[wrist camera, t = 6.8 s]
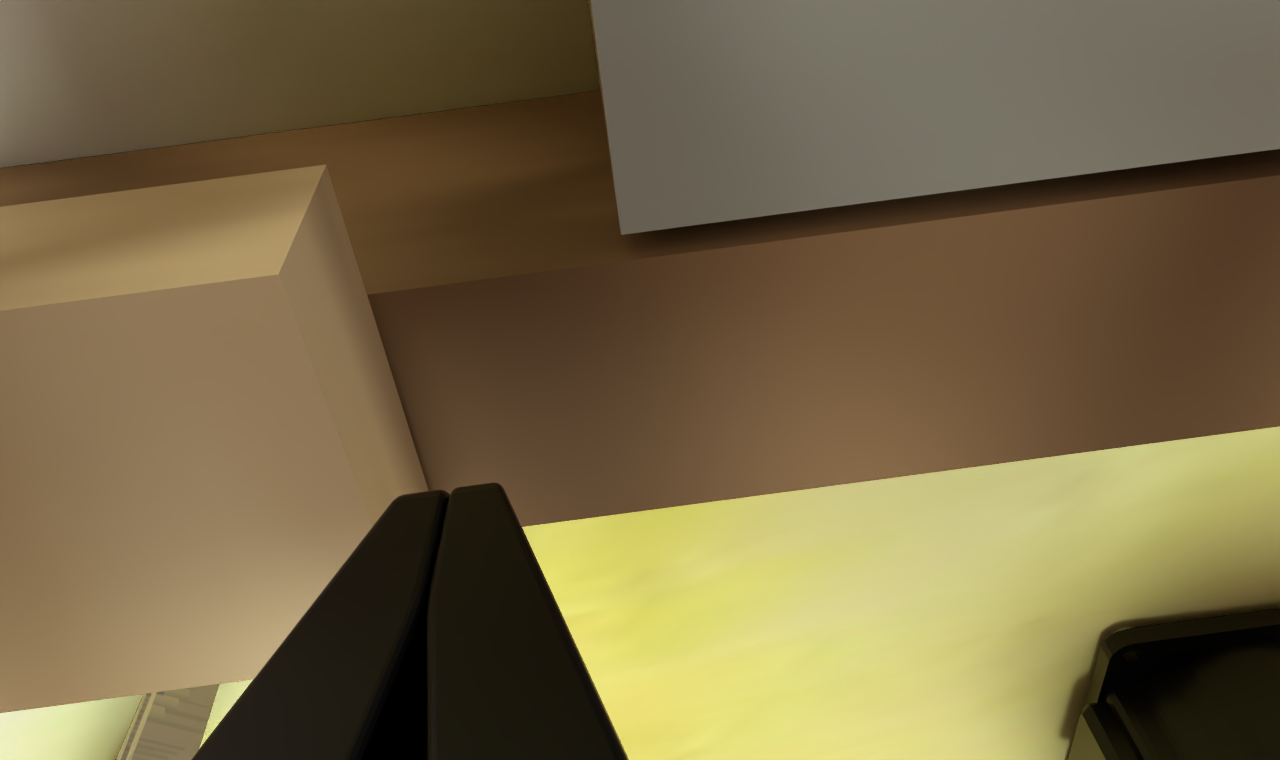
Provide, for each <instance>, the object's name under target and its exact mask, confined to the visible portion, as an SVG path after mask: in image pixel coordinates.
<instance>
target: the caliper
mask: <svg viewBox="0 0 1280 760" xmlns="http://www.w3.org/2000/svg"><path fill="white" fill-rule="evenodd" d="M218 687H219V684H213V685H206V686H199V687H191V688H184V689H176V690H169V691H161V692H154V693H146V694H143V697H142V699H141V702H140V704H139V706H138V709H137V711H136V714H135V716H134V718H133V721H132V723H131V726H130V728H129V730H128V733H127V735H126V737H125V740H124V742H123V745H122V747H121V749H120V752H119V754H118V757H117V759H116V760H191V759H192V758H193V757H194V755H195V754H196V753H197V752H198V750H199V747H200V744H201V741H202V738H203V735H204V732H205V728H206V725H207V722H208V719H209V716H210V712H211V709H212V706H213V703H214V699H215V696H216V693H217V690H218Z"/></svg>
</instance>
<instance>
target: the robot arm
mask: <svg viewBox="0 0 1280 760" xmlns="http://www.w3.org/2000/svg"><path fill="white" fill-rule="evenodd" d="M191 760H629V759H628V757H627V754H626V752H625V750H624V748H623V746H622V744H621V741H620V739H619V737H618V735H617V733H616V731H615V728H614V726H613V724H612V722H611V720H610V718H609V715H608V713H607V711H606V709H605V707H604V705H603V702H602V700H601V698H600V696H599V694H598V692H597V689H596V687H595V685H594V683H593V681H592V679H591V676H590V674H589V672H588V670H587V668H586V666H585V663H584V661H583V659H582V657H581V655H580V652H579V650H578V648H577V646H576V644H575V642H574V639H573V637H572V635H571V633H570V631H569V629H568V626H567V624H566V622H565V620H564V618H563V616H562V613H561V611H560V609H559V607H558V605H557V603H556V600H555V598H554V596H553V594H552V592H551V590H550V587H549V585H548V583H547V581H546V579H545V577H544V574H543V572H542V570H541V568H540V566H539V564H538V561H537V559H536V557H535V555H534V553H533V551H532V548H531V546H530V544H529V542H528V540H527V538H526V535H525V533H524V531H523V529H522V527H521V524H520V522H519V520H518V518H517V516H516V514H515V511H514V509H513V507H512V505H511V503H510V501H509V498H508V496H507V494H506V492H505V490H504V488H503V487H502V486H501V485H500V484H499V483H486V484H478V485H471V486H463V487H458V488H455V489H454V490H453V491H452V492H451V493H450V494H449V493H448V492H446V491H444V490H433V491H426V492H418V493H411V494H404V495H401V496H398V497H397V498H396V499H394V500H393V501H392V502H391V503H390V505H389V506H388V507H387V509H386V510H385V511H384V512H383V514H382V515H381V516H380V518H379V519H378V520H377V521H376V523H375V524H374V525H373V527H372V528H371V529H370V530H369V532H368V533H367V534H366V536H365V537H364V538H363V539H362V541H361V542H360V543H359V545H358V546H357V547H356V548H355V550H354V551H353V552H352V554H351V555H350V556H349V557H348V559H347V560H346V561H345V563H344V564H343V565H342V566H341V568H340V569H339V570H338V572H337V573H336V574H335V575H334V577H333V578H332V579H331V581H330V582H329V583H328V584H327V586H326V587H325V588H324V590H323V591H322V592H321V593H320V595H319V596H318V597H317V599H316V600H315V601H314V602H313V604H312V605H311V606H310V608H309V609H308V610H307V611H306V613H305V614H304V615H303V617H302V618H301V619H300V620H299V622H298V623H297V624H296V626H295V627H294V628H293V629H292V631H291V632H290V633H289V635H288V636H287V637H286V638H285V640H284V641H283V642H282V644H281V645H280V646H279V647H278V649H277V650H276V651H275V653H274V654H273V655H272V656H271V658H270V659H269V660H268V662H267V663H266V664H265V665H264V667H263V668H262V669H261V671H260V672H259V673H258V674H257V676H256V677H255V678H254V680H253V681H252V682H251V683H250V685H249V686H248V687H247V689H246V690H245V691H244V692H243V694H242V695H241V696H240V698H239V699H238V700H237V701H236V703H235V704H234V705H233V707H232V708H231V709H230V710H229V712H228V713H227V714H226V716H225V717H224V718H223V719H222V721H221V722H220V723H219V725H218V726H217V727H216V728H215V730H214V731H213V732H212V734H211V735H210V736H209V737H208V739H207V740H206V741H205V743H204V744H203V745H202V746H201V748H200V749H199V750H198V752H197V753H196V754H195V755H194V757H193V758H192V759H191ZM1068 760H1280V609H1275V610H1267V611H1260V612H1252V613H1245V614H1237V615H1230V616H1222V617H1215V618H1207V619H1200V620H1193V621H1185V622H1178V623H1170V624H1163V625H1155V626H1148V627H1140V628H1133V629H1126V630H1122V631H1118V632H1116V633H1114V634H1112V635H1110V636H1109V637H1108V638H1107V639H1106V640H1104V642H1103V644H1102V645H1101V648H1100V652H1099V655H1098V659H1097V662H1096V666H1095V669H1094V673H1093V676H1092V680H1091V684H1090V687H1089V691H1088V694H1087V698H1086V701H1085V705H1084V708H1083V711H1082V712H1081V714H1080V718H1079V721H1078V725H1077V728H1076V732H1075V735H1074V739H1073V743H1072V746H1071V750H1070V753H1069V757H1068Z"/></svg>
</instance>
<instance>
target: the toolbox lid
mask: <svg viewBox="0 0 1280 760" xmlns="http://www.w3.org/2000/svg"><path fill="white" fill-rule="evenodd" d="M591 7H592V15H593V23H594V31H595V39H596V47H597V55H598V62H599V70H600V78H601V86H602V94H603V102H604V110H605V117H606V125H607V133H608V141H609V149H610V157H611V165H612V172H613V180H614V188H615V195H616V202H617V209H618V216H619V223H620V230H621V235H624V234H631V233H639V232H647V231H654V230H662V229H670V228H677V227H685V226H693V225H700V224H708V223H715V222H723V221H731V220H738V219H746V218H754V217H761V216H769V215H777V214H784V213H792V212H800V211H807V210H815V209H823V208H830V207H838V206H846V205H853V204H861V203H869V202H876V201H884V200H891V199H899V198H907V197H914V196H922V195H930V194H937V193H945V192H953V191H960V190H968V189H976V188H983V187H991V186H999V185H1006V184H1014V183H1022V182H1029V181H1037V180H1045V179H1052V178H1060V177H1068V176H1075V175H1083V174H1090V173H1098V172H1106V171H1113V170H1121V169H1129V168H1136V167H1144V166H1152V165H1159V164H1167V163H1175V162H1182V161H1190V160H1198V159H1205V158H1213V157H1221V156H1228V155H1236V154H1244V153H1251V152H1259V151H1266V150H1274V149H1280V0H591Z"/></svg>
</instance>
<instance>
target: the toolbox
mask: <svg viewBox="0 0 1280 760" xmlns="http://www.w3.org/2000/svg"><path fill="white" fill-rule="evenodd" d="M588 1H589V9H590V17H591V24H592V32H593V40H594V48H595V55H596V63H597V71H598V79H599V87H600V91H595V92H587V93H579V94H571V95H564V96H556V97H548V98H541V99H533V100H525V101H517V102H510V103H502V104H494V105H487V106H479V107H471V108H463V109H456V110H448V111H440V112H433V113H425V114H417V115H409V116H402V117H394V118H386V119H379V120H371V121H363V122H355V123H348V124H340V125H332V126H325V127H317V128H309V129H301V130H294V131H286V132H278V133H271V134H263V135H255V136H247V137H240V138H232V139H224V140H216V141H209V142H201V143H193V144H186V145H178V146H170V147H162V148H155V149H147V150H139V151H132V152H124V153H116V154H108V155H101V156H93V157H85V158H78V159H70V160H62V161H54V162H47V163H39V164H31V165H24V166H16V167H8V168H0V207H3V206H11V205H19V204H26V203H34V202H42V201H50V200H57V199H65V198H73V197H80V196H88V195H96V194H103V193H111V192H119V191H127V190H134V189H142V188H150V187H157V186H165V185H173V184H180V183H188V182H196V181H204V180H211V179H219V178H227V177H234V176H242V175H250V174H257V173H265V172H273V171H281V170H288V169H296V168H304V167H311V166H319V165H327V169H328V172H329V175H330V178H331V181H332V185H333V188H334V191H335V194H336V197H337V201H338V204H339V207H340V210H341V213H342V216H343V220H344V223H345V226H346V229H347V232H348V236H349V239H350V242H351V245H352V248H353V252H354V255H355V258H356V261H357V264H358V267H359V271H360V274H361V277H362V280H363V283H364V287H365V290H366V293H367V296H368V299H369V303H370V306H371V309H372V312H373V315H374V318H375V322H376V325H377V328H378V331H379V334H380V338H381V341H382V344H383V347H384V350H385V354H386V357H387V360H388V363H389V366H390V369H391V373H392V376H393V379H394V382H395V385H396V389H397V392H398V395H399V398H400V401H401V405H402V408H403V411H404V414H405V417H406V420H407V424H408V427H409V430H410V433H411V436H412V440H413V443H414V446H415V449H416V452H417V456H418V459H419V462H420V465H421V468H422V471H423V475H424V478H425V481H426V484H427V487H428V491H433V490H444V491H446V492H448V493H449V494H450V493H451V492H452V491H453V490H454V489H455V488H458V487H463V486H471V485H478V484H486V483H499V484H500V485H501V486H502V487H503V488H504V490H505V492H506V494H507V496H508V498H509V501H510V503H511V505H512V507H513V509H514V511H515V514H516V516H517V518H518V520H519V522H520V524H521V527H524V526H531V525H539V524H546V523H554V522H561V521H569V520H577V519H584V518H592V517H599V516H607V515H614V514H622V513H629V512H637V511H644V510H652V509H659V508H667V507H674V506H682V505H690V504H697V503H705V502H712V501H720V500H727V499H735V498H742V497H750V496H757V495H765V494H772V493H780V492H788V491H795V490H803V489H810V488H818V487H825V486H833V485H840V484H848V483H855V482H863V481H870V480H878V479H886V478H893V477H901V476H908V475H916V474H923V473H931V472H938V471H946V470H953V469H961V468H968V467H976V466H983V465H991V464H999V463H1006V462H1014V461H1021V460H1029V459H1036V458H1044V457H1051V456H1059V455H1066V454H1074V453H1081V452H1089V451H1097V450H1104V449H1112V448H1119V447H1127V446H1134V445H1142V444H1149V443H1157V442H1164V441H1172V440H1179V439H1187V438H1195V437H1202V436H1210V435H1217V434H1225V433H1232V432H1240V431H1247V430H1255V429H1262V428H1270V427H1277V426H1280V149H1274V150H1266V151H1259V152H1251V153H1244V154H1236V155H1228V156H1221V157H1213V158H1205V159H1198V160H1190V161H1182V162H1175V163H1167V164H1159V165H1152V166H1144V167H1136V168H1129V169H1121V170H1113V171H1106V172H1098V173H1090V174H1083V175H1075V176H1068V177H1060V178H1052V179H1045V180H1037V181H1029V182H1022V183H1014V184H1006V185H999V186H991V187H983V188H976V189H968V190H960V191H953V192H945V193H937V194H930V195H922V196H914V197H907V198H899V199H891V200H884V201H876V202H869V203H861V204H853V205H846V206H838V207H830V208H823V209H815V210H807V211H800V212H792V213H784V214H777V215H769V216H761V217H754V218H746V219H738V220H731V221H723V222H715V223H708V224H700V225H693V226H685V227H677V228H670V229H662V230H654V231H647V232H639V233H631V234H624V235H621V230H620V223H619V216H618V209H617V202H616V195H615V188H614V180H613V172H612V165H611V157H610V149H609V141H608V133H607V125H606V117H605V110H604V102H603V94H602V86H601V78H600V70H599V62H598V55H597V47H596V39H595V31H594V23H593V15H592V7H591V0H588Z"/></svg>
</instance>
